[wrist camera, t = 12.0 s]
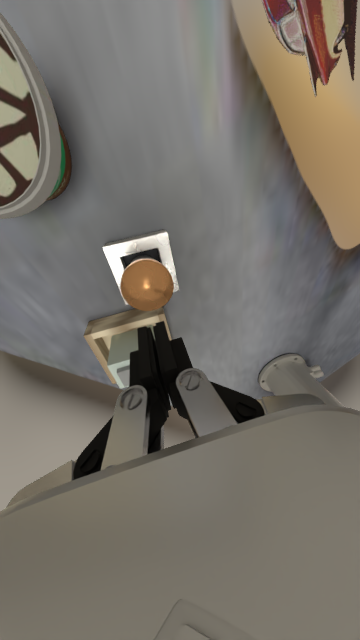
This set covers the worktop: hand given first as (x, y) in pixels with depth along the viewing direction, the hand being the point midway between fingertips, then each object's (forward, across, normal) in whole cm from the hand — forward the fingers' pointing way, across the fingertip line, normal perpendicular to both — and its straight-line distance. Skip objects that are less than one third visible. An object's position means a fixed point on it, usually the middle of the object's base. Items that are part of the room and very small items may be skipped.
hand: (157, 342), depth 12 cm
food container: (+19, +7, -12) cm, 23 cm away
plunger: (+16, 0, 0) cm, 16 cm away
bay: (+19, +5, +12) cm, 23 cm away
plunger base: (+19, 0, 0) cm, 19 cm away
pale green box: (+18, +5, +12) cm, 22 cm away
